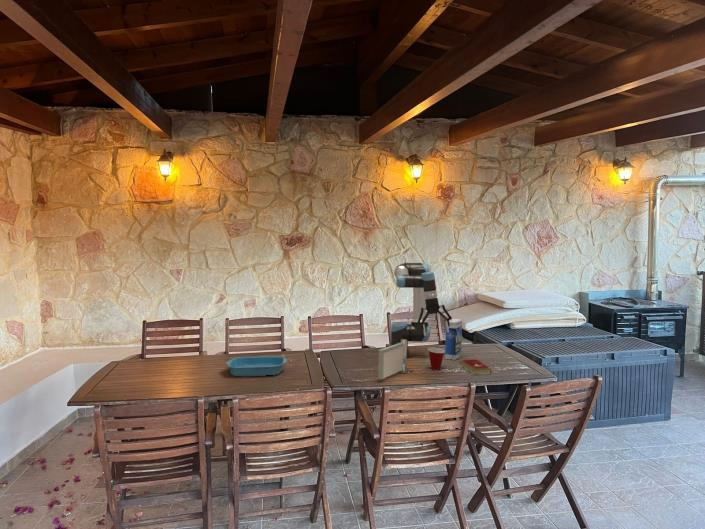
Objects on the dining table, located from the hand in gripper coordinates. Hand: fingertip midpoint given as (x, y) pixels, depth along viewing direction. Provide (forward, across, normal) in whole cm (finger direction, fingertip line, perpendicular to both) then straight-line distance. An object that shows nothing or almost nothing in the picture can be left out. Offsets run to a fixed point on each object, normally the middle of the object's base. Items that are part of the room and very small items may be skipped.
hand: (436, 333), depth 277 cm
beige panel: (+20, -30, +2) cm, 36 cm away
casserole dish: (+9, -110, +9) cm, 111 cm away
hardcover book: (+29, +23, +19) cm, 41 cm away
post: (+22, -22, +13) cm, 33 cm away
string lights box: (+24, +15, +46) cm, 54 cm away
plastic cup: (+24, 0, +20) cm, 32 cm away
